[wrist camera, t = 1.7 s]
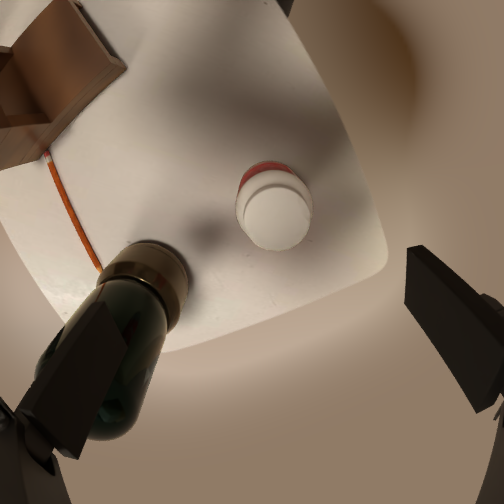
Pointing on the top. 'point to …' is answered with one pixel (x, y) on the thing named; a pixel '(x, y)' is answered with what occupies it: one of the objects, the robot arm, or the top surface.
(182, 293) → the lamp
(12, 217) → the top surface
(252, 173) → the pill bottle
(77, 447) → the robot arm
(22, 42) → the shelf
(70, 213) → the pencil
